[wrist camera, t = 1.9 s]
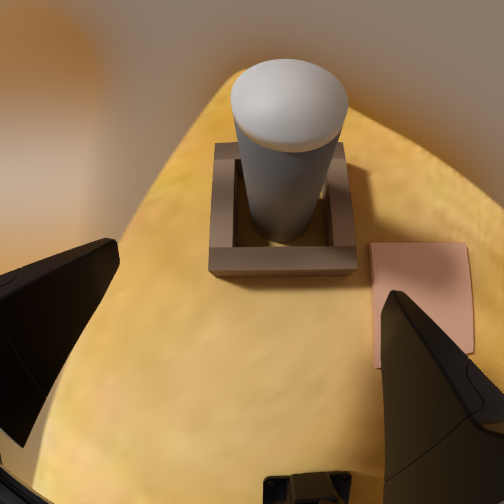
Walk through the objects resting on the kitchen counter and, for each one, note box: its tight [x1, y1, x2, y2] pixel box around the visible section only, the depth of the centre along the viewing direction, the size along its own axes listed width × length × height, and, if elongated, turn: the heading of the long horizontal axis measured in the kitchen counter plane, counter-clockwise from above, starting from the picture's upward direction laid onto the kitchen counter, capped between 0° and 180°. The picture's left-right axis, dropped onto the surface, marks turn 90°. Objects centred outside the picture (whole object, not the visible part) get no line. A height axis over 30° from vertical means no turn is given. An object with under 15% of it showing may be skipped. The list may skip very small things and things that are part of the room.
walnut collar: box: [208, 142, 358, 277], centre depth 21 cm, size 10×10×2 cm
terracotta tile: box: [368, 242, 474, 368], centre depth 20 cm, size 9×9×1 cm
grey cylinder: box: [231, 59, 348, 242], centre depth 16 cm, size 4×4×13 cm
